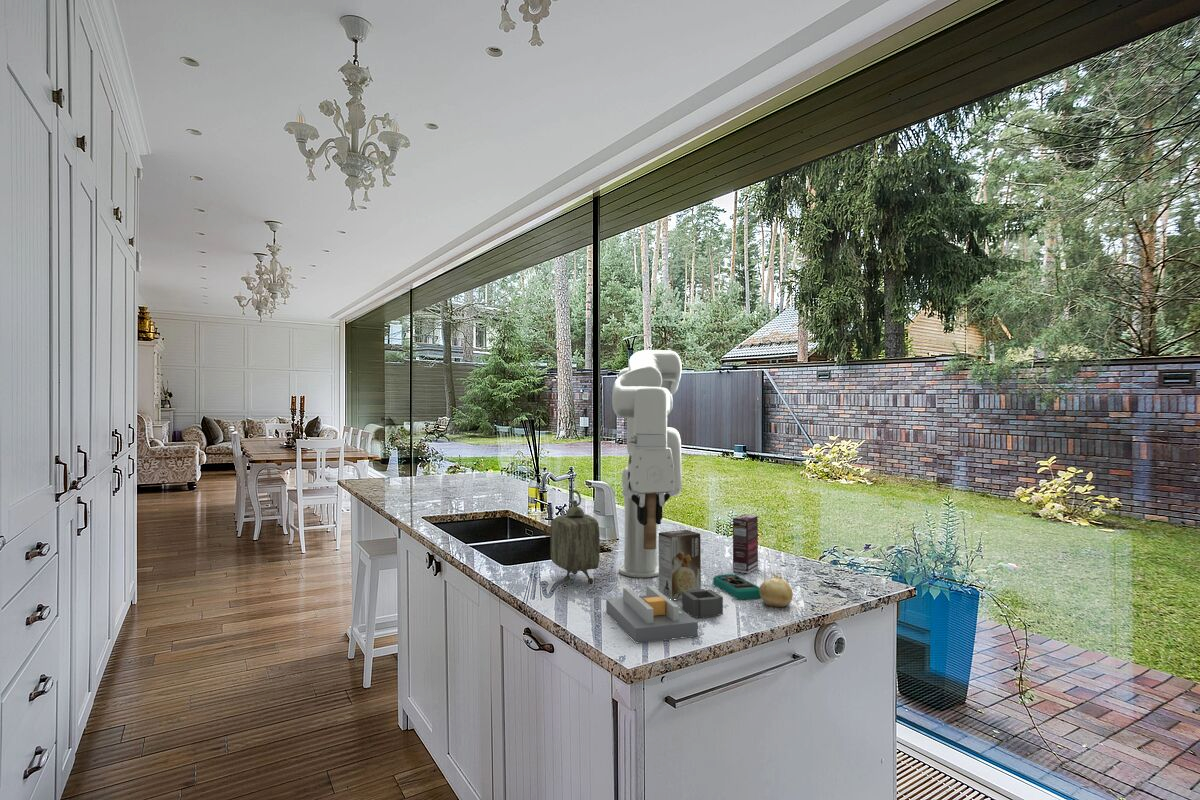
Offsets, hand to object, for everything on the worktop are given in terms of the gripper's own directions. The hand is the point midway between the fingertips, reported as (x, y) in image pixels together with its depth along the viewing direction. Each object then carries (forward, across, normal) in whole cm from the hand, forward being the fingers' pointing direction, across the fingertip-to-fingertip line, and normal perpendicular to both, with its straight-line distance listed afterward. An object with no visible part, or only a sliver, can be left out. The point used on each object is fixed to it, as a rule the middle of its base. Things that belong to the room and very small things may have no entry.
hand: (649, 522), depth 139 cm
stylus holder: (+22, +15, +3) cm, 27 cm away
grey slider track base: (+22, 0, -1) cm, 22 cm away
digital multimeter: (+23, +31, +16) cm, 42 cm away
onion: (+23, +35, +3) cm, 42 cm away
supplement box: (+23, +44, +33) cm, 60 cm away
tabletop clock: (+23, -8, +36) cm, 44 cm away
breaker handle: (+19, 0, -3) cm, 19 cm away
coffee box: (+23, +15, +16) cm, 32 cm away
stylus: (+6, 0, 0) cm, 6 cm away
